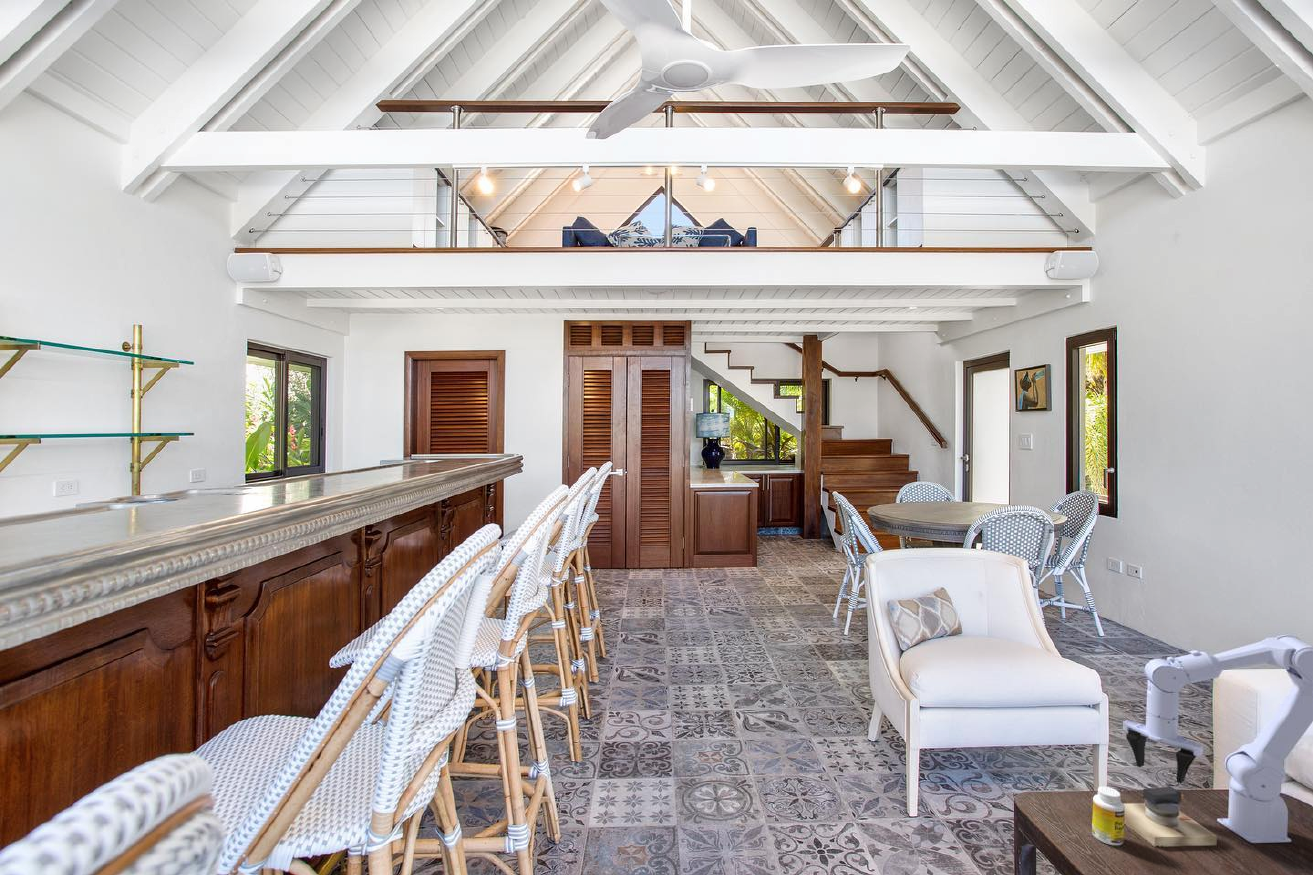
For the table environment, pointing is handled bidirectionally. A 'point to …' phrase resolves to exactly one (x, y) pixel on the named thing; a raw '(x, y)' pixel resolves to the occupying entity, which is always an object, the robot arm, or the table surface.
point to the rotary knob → (1163, 800)
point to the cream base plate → (1166, 828)
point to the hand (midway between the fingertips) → (1160, 773)
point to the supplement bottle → (1108, 816)
